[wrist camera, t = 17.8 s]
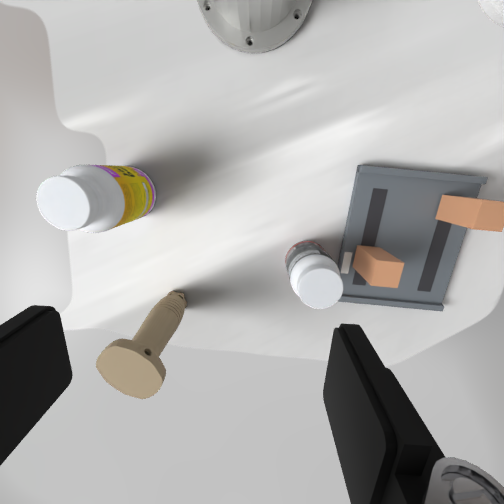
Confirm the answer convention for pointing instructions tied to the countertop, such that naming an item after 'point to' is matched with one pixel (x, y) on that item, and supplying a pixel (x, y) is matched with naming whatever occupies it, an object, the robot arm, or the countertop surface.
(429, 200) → the grey tray
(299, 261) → the pill bottle
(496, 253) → the countertop surface
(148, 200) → the supplement bottle
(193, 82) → the countertop surface
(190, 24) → the countertop surface
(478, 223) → the tab
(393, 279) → the orange rectangular block
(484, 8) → the jar
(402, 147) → the countertop surface
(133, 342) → the handle
